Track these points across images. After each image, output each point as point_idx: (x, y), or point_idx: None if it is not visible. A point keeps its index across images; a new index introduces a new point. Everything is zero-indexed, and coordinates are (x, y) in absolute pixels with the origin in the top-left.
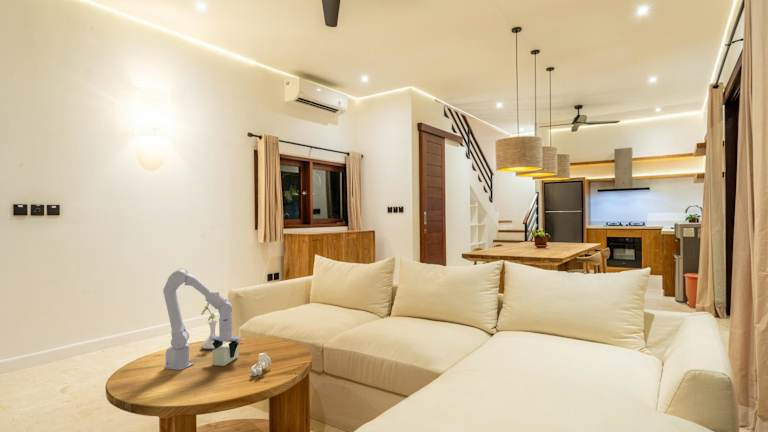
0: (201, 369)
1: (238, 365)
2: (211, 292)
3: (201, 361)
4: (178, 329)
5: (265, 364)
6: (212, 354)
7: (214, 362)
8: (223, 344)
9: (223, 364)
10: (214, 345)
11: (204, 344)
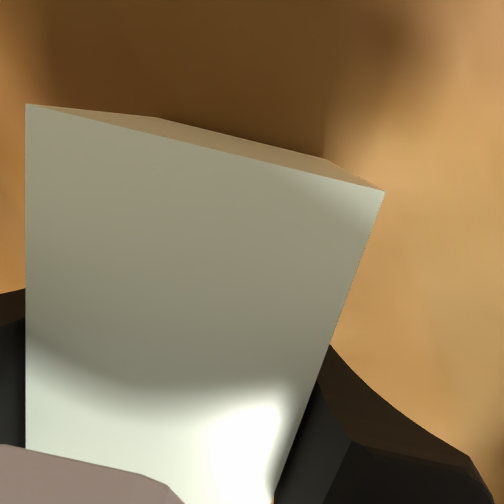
0: (441, 6)
1: (2, 145)
2: None
3: (500, 305)
4: None
5: None
6: (357, 177)
7: (301, 155)
8: None
9: (165, 120)
10: (404, 431)
11: None
